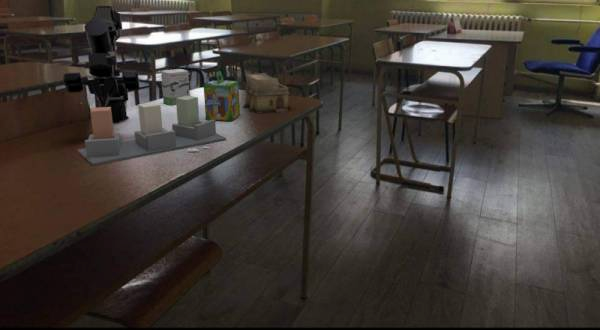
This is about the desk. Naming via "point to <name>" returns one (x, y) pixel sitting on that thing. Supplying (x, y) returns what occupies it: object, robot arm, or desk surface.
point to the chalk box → (221, 99)
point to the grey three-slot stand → (149, 143)
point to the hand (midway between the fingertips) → (103, 107)
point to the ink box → (174, 85)
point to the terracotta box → (102, 123)
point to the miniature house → (265, 94)
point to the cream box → (150, 118)
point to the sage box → (187, 110)
